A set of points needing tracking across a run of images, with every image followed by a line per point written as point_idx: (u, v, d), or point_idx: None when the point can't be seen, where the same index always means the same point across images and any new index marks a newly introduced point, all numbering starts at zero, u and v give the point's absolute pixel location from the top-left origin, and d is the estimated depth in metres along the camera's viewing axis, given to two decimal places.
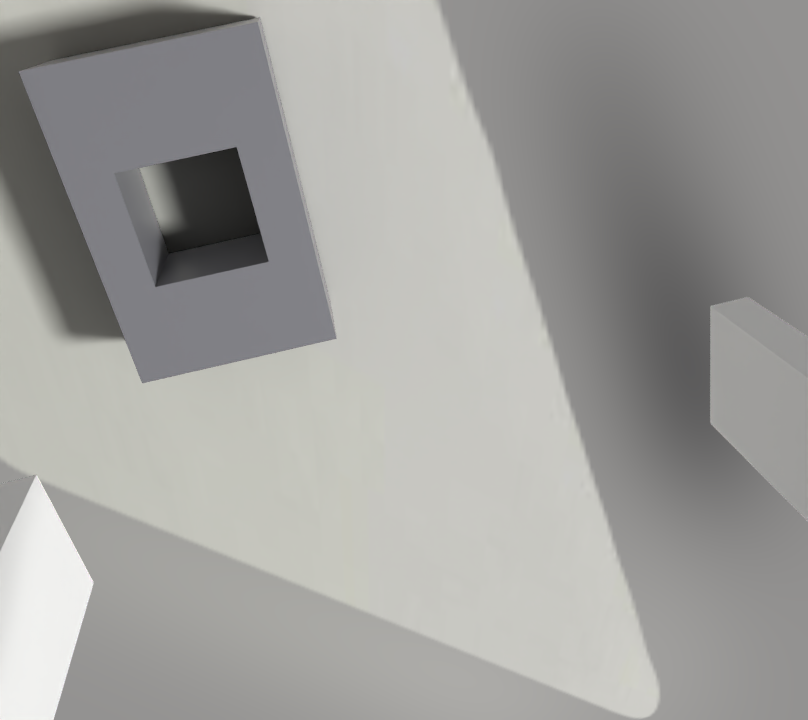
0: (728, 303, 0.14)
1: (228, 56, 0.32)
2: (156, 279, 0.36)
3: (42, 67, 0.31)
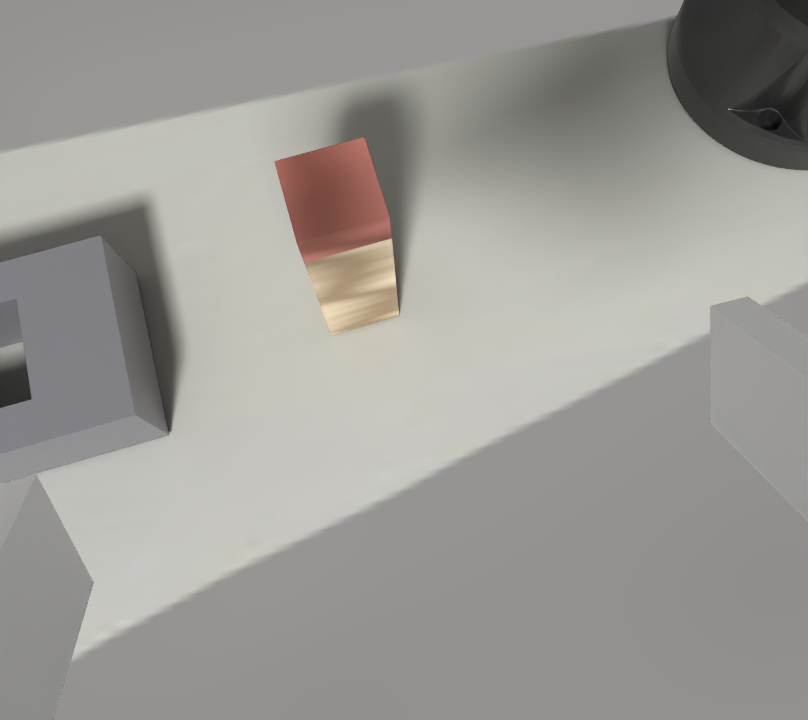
0: (728, 303, 0.14)
1: (107, 391, 0.37)
2: None
3: (103, 251, 0.39)
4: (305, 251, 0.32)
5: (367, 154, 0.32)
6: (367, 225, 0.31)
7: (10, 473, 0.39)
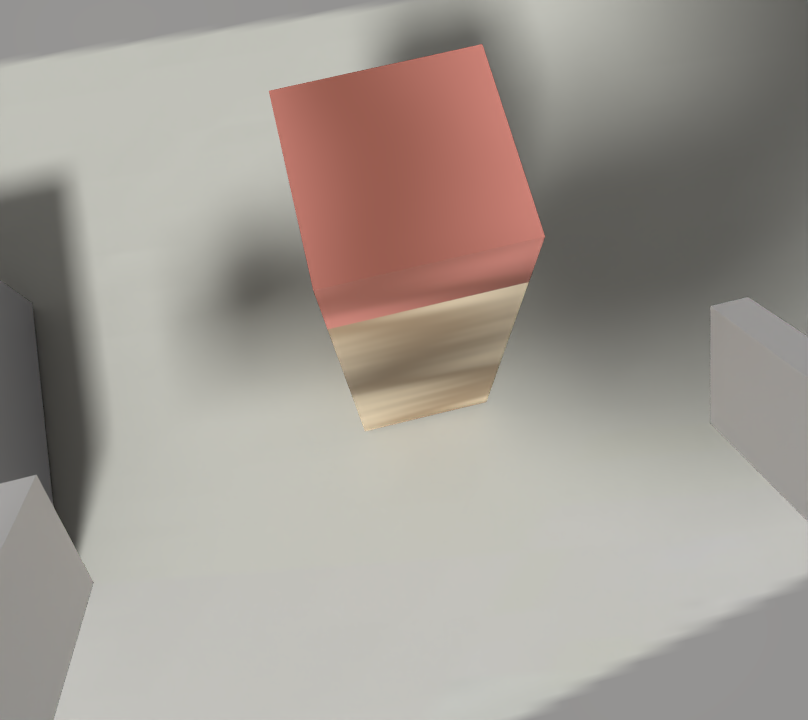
0: (728, 302, 0.14)
1: None
2: None
3: None
4: (332, 308, 0.13)
5: (489, 84, 0.14)
6: (488, 254, 0.13)
7: None
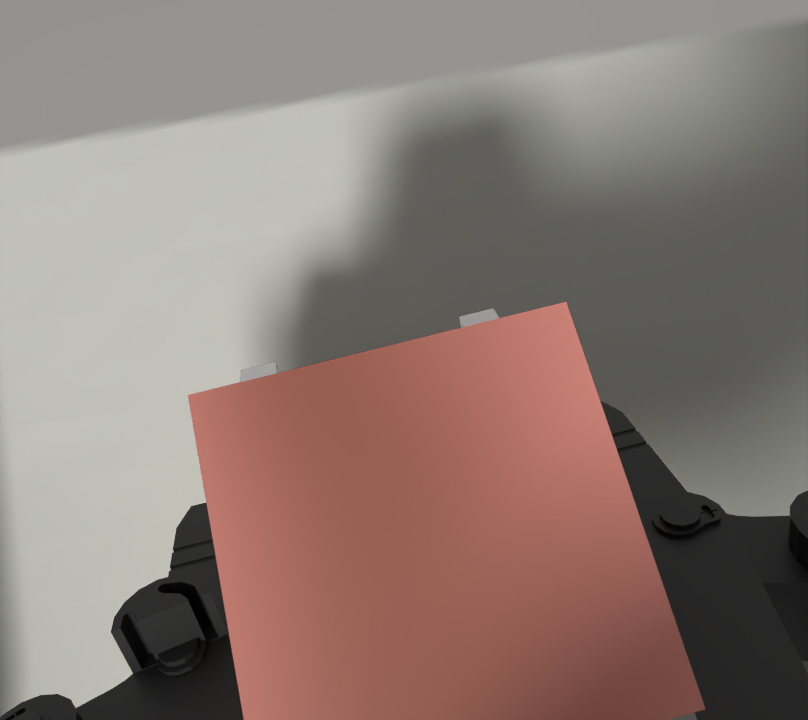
0: (473, 314, 0.16)
1: None
2: None
3: None
4: None
5: (583, 380, 0.08)
6: None
7: None
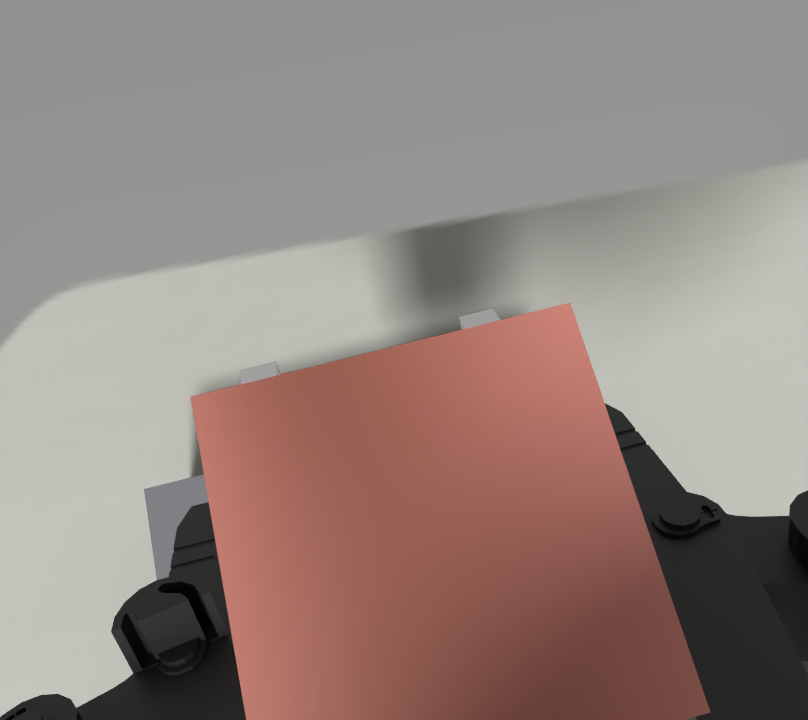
0: (473, 314, 0.16)
1: None
2: None
3: None
4: None
5: (586, 382, 0.08)
6: None
7: None
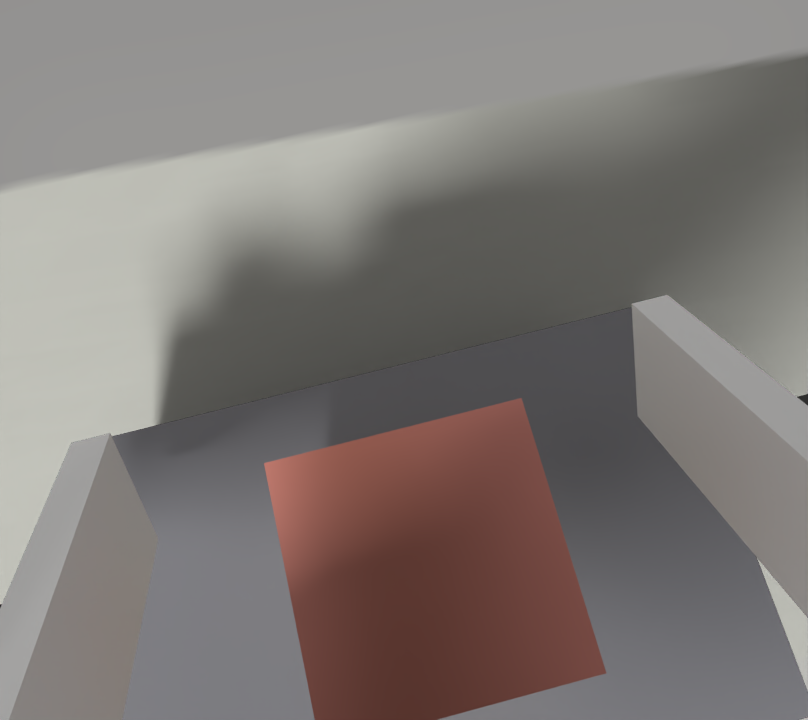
0: (647, 301, 0.15)
1: (742, 654, 0.17)
2: None
3: None
4: None
5: (531, 453, 0.11)
6: None
7: None
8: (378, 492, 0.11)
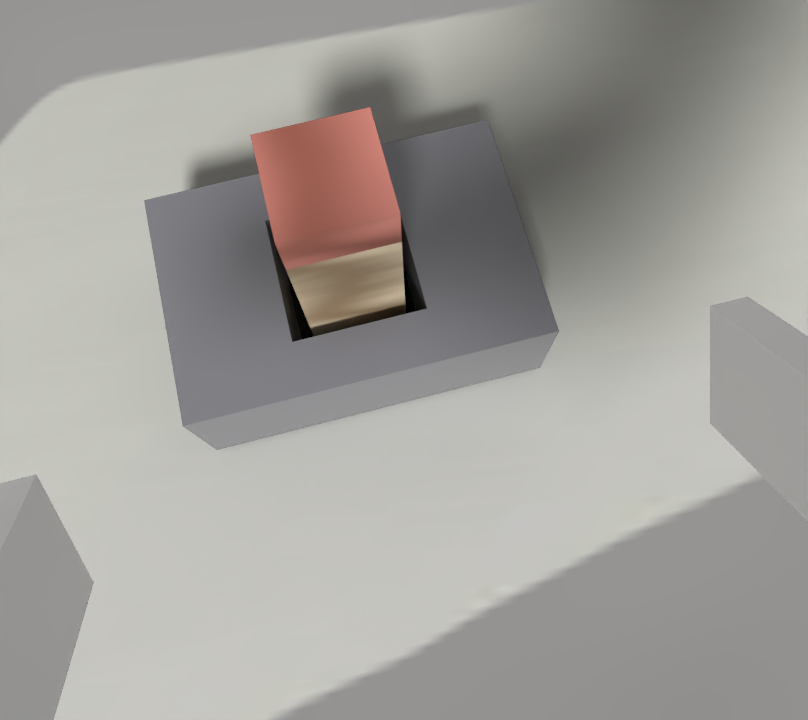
0: (728, 303, 0.14)
1: (520, 302, 0.30)
2: None
3: (492, 138, 0.32)
4: (287, 255, 0.24)
5: (373, 129, 0.24)
6: (370, 223, 0.24)
7: (365, 404, 0.33)
8: (302, 146, 0.24)
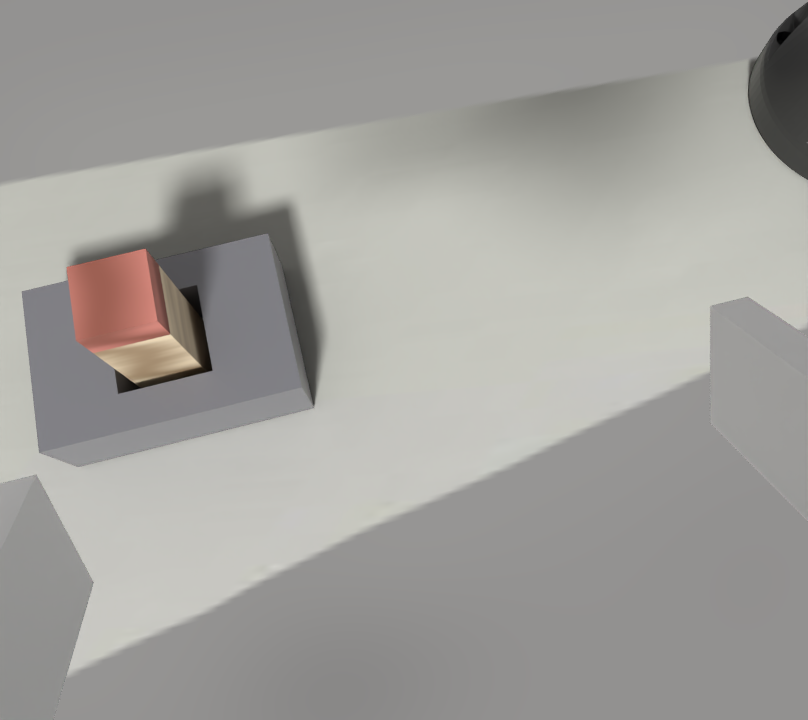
0: (727, 303, 0.14)
1: (277, 366, 0.43)
2: None
3: (270, 247, 0.45)
4: (88, 345, 0.37)
5: (146, 264, 0.38)
6: (138, 327, 0.37)
7: (181, 435, 0.46)
8: (99, 275, 0.37)
